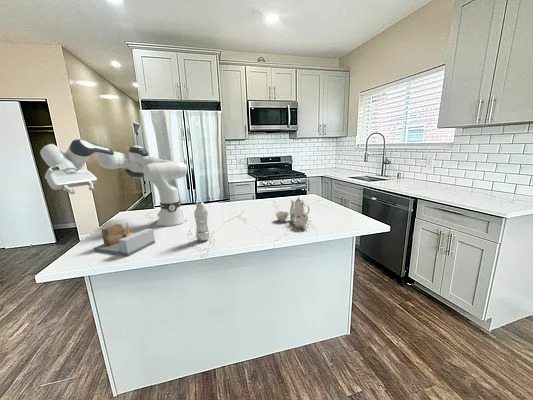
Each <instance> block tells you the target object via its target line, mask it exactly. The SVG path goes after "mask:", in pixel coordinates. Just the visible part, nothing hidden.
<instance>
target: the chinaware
mask: <svg viewBox="0 0 533 400" xmlns="http://www.w3.org/2000/svg"><path fill="white" fill-rule="evenodd" d="M290 201H291V204H290V205H291V206H290V209H289V212H288V211H278V212H274V213H275V216H276V218H277V220H279V222H283V223H284V222H285V221H286V220H287V219H288V215H290V218H289V219H290V220H291V221H292V222H291V223H292V224H293V223H294V225H295V227H296V228H297V229H298V230H302V228H303V229H306V228H309V226H307V227H306V225H309V223H308V221H309V215H308V214H310V210H311V209H310V207H309V205H308V204H307V203H305V200H303V199H302V198H301V197H300V196H298V197H297V199H296V200H293V199H290ZM305 206H306V207H307V212H306V211H305Z"/></svg>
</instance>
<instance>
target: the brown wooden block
mask: <svg viewBox="0 0 533 400" xmlns="http://www.w3.org/2000/svg"><path fill="white" fill-rule="evenodd" d="M123 229H124V228H123V224H118V223H115V224H113V225H109V226H106V227H103V228H101V235H102V240H103V241H102V242H103V244H104V245H112V244H115V243H117V242H119V240H120V239H122V238H125V234H128V231H124V230H123ZM129 233H132V231H129Z"/></svg>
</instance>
